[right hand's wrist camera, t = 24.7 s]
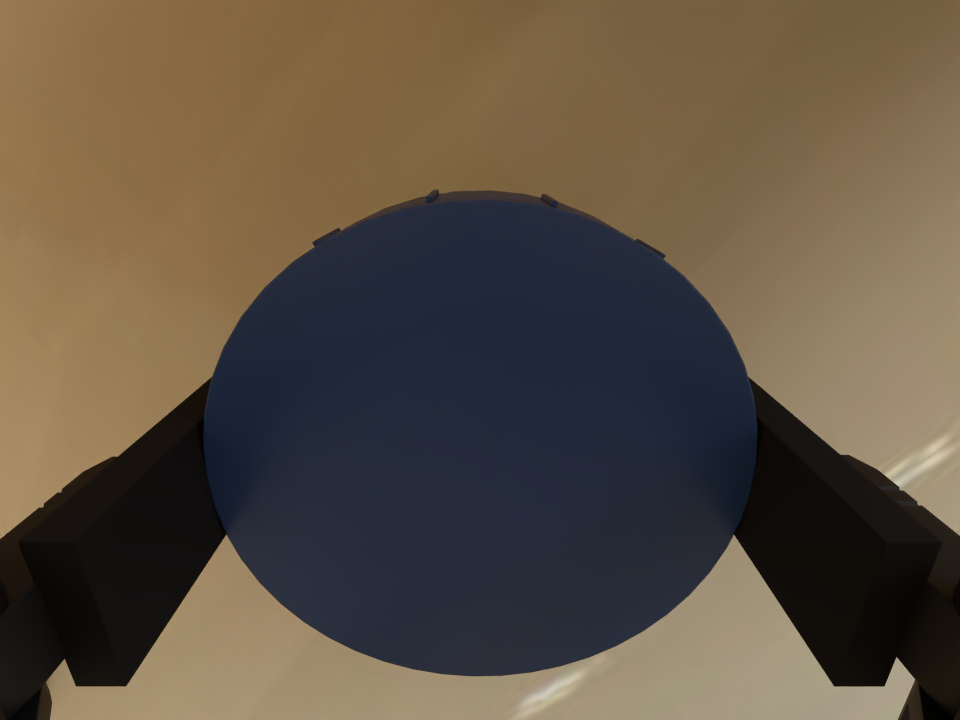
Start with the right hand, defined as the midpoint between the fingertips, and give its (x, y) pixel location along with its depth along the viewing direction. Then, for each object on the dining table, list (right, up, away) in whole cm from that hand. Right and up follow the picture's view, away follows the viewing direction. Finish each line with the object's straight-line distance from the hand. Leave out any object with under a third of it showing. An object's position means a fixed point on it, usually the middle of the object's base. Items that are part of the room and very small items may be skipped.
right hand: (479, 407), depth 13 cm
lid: (0, -1, -3) cm, 3 cm away
